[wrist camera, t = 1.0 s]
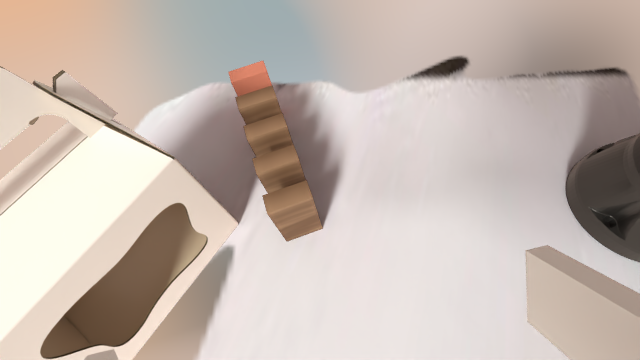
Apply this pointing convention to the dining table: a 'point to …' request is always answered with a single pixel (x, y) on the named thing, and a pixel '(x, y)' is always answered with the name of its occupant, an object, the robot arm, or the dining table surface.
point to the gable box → (93, 229)
